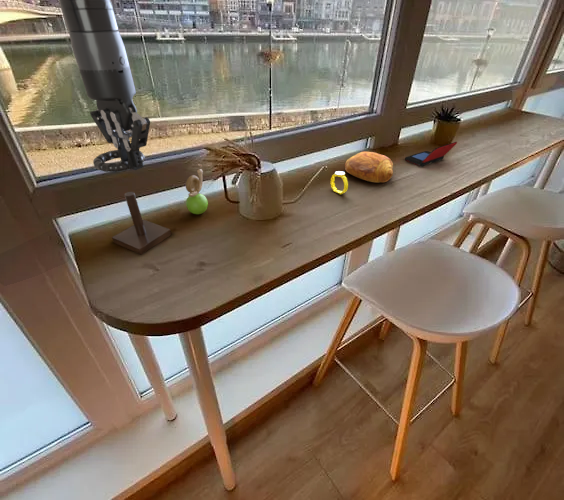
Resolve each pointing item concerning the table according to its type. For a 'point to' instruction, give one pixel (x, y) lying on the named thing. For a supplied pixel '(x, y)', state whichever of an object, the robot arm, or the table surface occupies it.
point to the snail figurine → (196, 194)
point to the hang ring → (112, 167)
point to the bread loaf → (370, 167)
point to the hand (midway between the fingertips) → (133, 167)
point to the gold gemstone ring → (342, 175)
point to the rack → (140, 230)
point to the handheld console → (430, 155)
